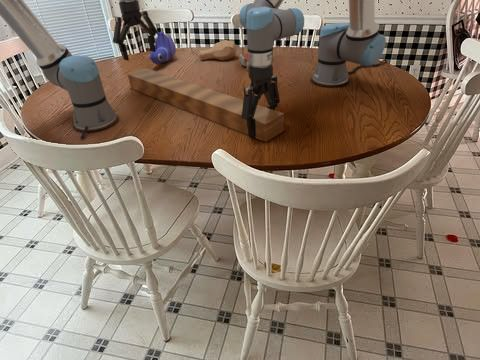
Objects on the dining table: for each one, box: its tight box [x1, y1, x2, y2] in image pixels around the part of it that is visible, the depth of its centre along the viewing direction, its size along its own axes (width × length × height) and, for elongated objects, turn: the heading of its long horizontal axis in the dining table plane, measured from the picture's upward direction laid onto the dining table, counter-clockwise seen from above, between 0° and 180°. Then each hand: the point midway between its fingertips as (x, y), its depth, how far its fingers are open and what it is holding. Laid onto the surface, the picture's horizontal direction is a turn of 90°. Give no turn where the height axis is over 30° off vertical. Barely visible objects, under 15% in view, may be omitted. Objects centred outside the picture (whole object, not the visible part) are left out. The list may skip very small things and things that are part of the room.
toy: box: [148, 31, 177, 69], centre depth 182 cm, size 10×17×25 cm
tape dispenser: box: [239, 53, 249, 70], centre depth 171 cm, size 18×5×20 cm
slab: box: [127, 67, 285, 143], centre depth 138 cm, size 78×9×7 cm, turn 47°
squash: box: [198, 39, 238, 61], centre depth 185 cm, size 11×20×9 cm, turn 92°
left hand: (140, 55), depth 151 cm, fingers open, 13 cm apart
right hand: (261, 130), depth 121 cm, fingers closed on slab, 9 cm apart
